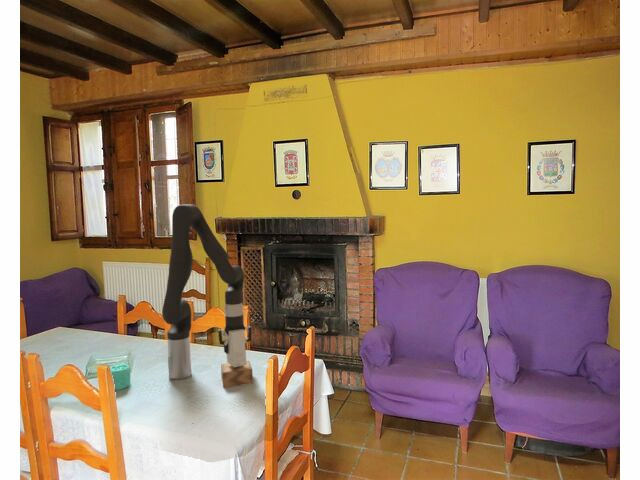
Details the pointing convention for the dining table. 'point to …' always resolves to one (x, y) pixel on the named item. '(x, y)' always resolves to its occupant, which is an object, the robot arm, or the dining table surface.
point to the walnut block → (236, 374)
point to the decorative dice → (121, 376)
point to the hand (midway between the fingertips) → (235, 352)
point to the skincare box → (236, 348)
